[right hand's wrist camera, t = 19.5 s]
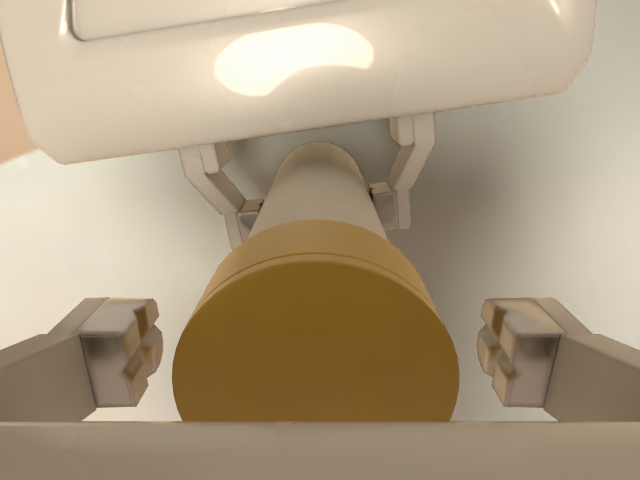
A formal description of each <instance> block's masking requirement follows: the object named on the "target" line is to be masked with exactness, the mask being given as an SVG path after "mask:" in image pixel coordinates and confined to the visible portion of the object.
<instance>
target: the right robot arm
mask: <svg viewBox="0 0 640 480" xmlns="http://www.w3.org/2000/svg"><path fill="white" fill-rule="evenodd" d="M158 317H159V313H158V307H157V303H156V302H155V301H154V299H145V298H109V297H105V298H85V299H84V300H83V301H82V302H81V303H80V304H79V305H78V306H77V307H76V308H74V309H73V310H72V311H71V312H70V313H69V314H68V315H67V316H66V317H65V318H64V319H63V320H62V321H61V322H59V323H58V324H57V325H56V326H55V327H54V328H53V329H52V330H51V331H50V332H49V333H48V334H39V335H37V336H34V337H32V338H29V339H27V340H24V341H22V342H20V343H17V344H15V345H12V346H10V347H7V348H5V349H2V350H0V480H640V350H638V349H635V348H633V347H630V346H628V345H625V344H623V343H620V342H618V341H615V340H613V339H611V338H608V337H606V336H603V335H601V334H592V333H591V332H590V331H589V330H588V329H587V328H586V327H585V326H584V325H583V324H582V323H581V322H580V321H578V320H577V319H576V318H575V317H574V316H573V315H572V314H571V313H570V312H569V311H568V310H567V309H566V308H565V307H564V306H562V305H561V304H560V303H559V302H558V301H557V300H556V299H554V298H551V297H546V298H501V299H486V300H485V302H484V304H483V306H482V312H481V317H482V318H483V320H484V321H485V323H486V325H485V326H484V327H483V328H482V329H481V330H480V331H479V332H478V339H477V352H478V358H479V362H480V365H481V367H482V369H483V370H484V372H485V373H487V374H488V375H490V376H491V377H493V381H492V387H493V389H494V390H495V392H496V394H497V396H498V397H499V399H500V401H501V403H502V405H503V406H504V407H538V408H544V410H545V411H546V412H548V413H549V414H550V415H552V416H553V417H554V418H556V419H557V420H558V421H560V422H235V421H82V420H83V419H85V418H86V417H87V416H89V415H90V414H91V413H93V412H94V411H95V410H96V408H102V407H136V406H137V405H138V403H139V401H140V399H141V397H142V396H143V394H144V392H145V390H146V389H147V387H148V381H147V377H149V376H150V375H152V374H153V373H155V372H156V370H157V369H158V367H159V365H160V362H161V357H162V353H163V338H162V332H161V331H160V330H159V329H158V328H157V327H156V326H155V325H154V323H155V321H156V320H157V318H158Z"/></svg>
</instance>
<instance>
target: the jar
mask: <svg viewBox="0 0 640 480" xmlns="http://www.w3.org/2000/svg"><path fill="white" fill-rule="evenodd" d="M310 219H321V220H333V221H340V222H346V223H349V224H352V225H356V226H359V227H362V228H364V229H367V230H369V231H371V232H373V233H376V234H377V235H379V236H381V237H382V238H384V239H386V240H387V241H388V239H387V236H386V234H385V231H384V229H383V226H382V224H381V222H380V219H379V217H378V214H377V212H376V209H375V207H374V205H373V202H372V200H371V197H370V195H369V192H368V190H367V188H366V185H365V183H364V180H363V178H362V175H361V173H360V171H359V168H358V166H357V164H356V162H355V161H354V159H353V158H352V157H351V156H350V154H349V153H347V152H346V151H345V150H344V149H342V148H341V147H339V146H337V145H334V144H331V143H327V142H310V143H306V144H303V145H301V146H299V147H297V148H295V149H294V150H293V151H291V152H290V153H289V154H288V155H287V156H286V157H285V159H284V160H283V162H282V163H281V165H280V167H279V170H278V172H277V174H276V176H275V179H274V181H273V183H272V185H271V188H270V190H269V192H268V194H267V196H266V199H265V201H264V203H263V205H262V208H261V210H260V212H259V214H258V217H257V219H256V221H255V223H254V225H253V228H252V230H251V232H250V234H249V237H248V239H249V238H250V237H252V236H254V235H256V234H258V233H259V232H261V231H263V230H265V229H268V228H271V227H274V226H277V225H279V224H283V223H288V222H293V221H298V220H310Z"/></svg>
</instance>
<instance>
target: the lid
mask: <svg viewBox="0 0 640 480" xmlns="http://www.w3.org/2000/svg"><path fill="white" fill-rule="evenodd" d="M172 384H173V393H174V398H175V402H176V405H177V409H178V412H179V414H180V416H181V419H182V421H235V422H449V420H450V418H451V416H452V413H453V410H454V407H455V405H456V400H457V395H458V389H459V367H458V360H457V355H456V352H455V348H454V345H453V342H452V340H451V338H450V336H449V334H448V332H447V330H446V328H445V326H444V323H443V321H442V319H441V317H440V315H439V313H438V311H437V309H436V307H435V305H434V303H433V301H432V299H431V297H430V295H429V293H428V291H427V289H426V287H425V285H424V283H423V281H422V279H421V277H420V275H419V273H418V272H417V270H416V269H415V267H414V266H413V265H412V263H411V262H410V261H409V260H408V259H407V257H406V256H405V255H404V254H403V253H402V252H401V251H400V250H399V249H397V248H396V247H395V246H394V245H392V244H391V243H390V242H389V241H387V240H386V239H384V238H382V237H381V236H379V235H377V234H376V233H373V232H371V231H369V230H367V229H364V228H362V227H359V226H356V225H352V224H349V223H346V222H340V221H333V220H321V219H310V220H298V221H293V222H288V223H283V224H279V225H277V226H274V227H271V228H268V229H265V230H263V231H261V232H259V233H258V234H256V235H254V236H252V237H250V238H249V239H247V240H246V241H244V242H243V243H241V244H240V245H239V246H237V247H236V248H235V249H234V250H233V251H232V252H231V253H230V254H229V255H228V256H227V257H226V258H225V259H224V261H223V262H222V263H221V264H220V266H219V267H218V269H217V270H216V272H215V274H214V275H213V277H212V279H211V280H210V282H209V284H208V286H207V288H206V290H205V292H204V293H203V295H202V297H201V299H200V301H199V303H198V305H197V307H196V308H195V310H194V312H193V314H192V316H191V318H190V320H189V321H188V323H187V325H186V327H185V329H184V331H183V333H182V335H181V337H180V340H179V342H178V345H177V347H176V352H175V356H174V361H173V370H172Z"/></svg>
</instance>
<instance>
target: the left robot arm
mask: <svg viewBox="0 0 640 480" xmlns="http://www.w3.org/2000/svg"><path fill="white" fill-rule="evenodd" d="M595 10H596V0H0V37H1V42H2V46H3V51H4V55H5V59H6V63H7V67H8V71H9V75H10V79H11V83H12V87H13V90H14V94H15V97H16V101H17V104H18V108H19V111H20V114H21V117H22V121H23V123H24V126H25V129H26V131H27V134H28V136H29V138H30V139H31V141H32V142H33V143H34V144H35V145H36V146H37V147H39V148H40V149H41V150H42V151H43V152H45V153H46V154H47V155H48V156H49V157H51V158H52V159H53V160H55V161H56V162H57V163H60V164H63V165H68V164H75V163H82V162H89V161H96V160H103V159H110V158H117V157H124V156H131V155H138V154H145V153H152V152H159V151H165V150H172V149H178V150H179V154H180V157H181V161H182V165H183V169H184V173H185V177H186V179H187V180H188V181H189V182H190V183H191V184H192V185H193V186H194V187H195V188H196V189H197V190H198V191H199V192H200V193H201V194H202V195H203V197H204V198H205V199H206V200H207V201H208V202H209V203H210V204H211V205H212V206H213V207H214V208H215V209H216V210H217V211H218V212H219V213H220V214H224V218H225V223H226V227H227V231H228V235H229V240H230V244H231V247H232V249H233V250H234V249H235V248H236V247H237V246H239V245H240V244H241V243H243V242H244V241H246V240H247V239H248V237H249V234H250V232H251V230H252V228H253V225H254V223H255V221H256V219H257V217H258V214H259V212H260V210H261V208H262V205H263V203H264V198H263V199H254V200H246V199H245V198H244V197H243V195H242V194H241V193H240V192H239V191H238V189H237V188H236V187H235V186H234V185H233V183H232V182H231V181H230V180H229V178H228V177H227V176H226V175H225V174H224V172H223V171H222V170H221V169H222V168H223V167H224V166H225V165H226V164H227V163H228V162H229V161H230V157H229V152H228V147H227V142H228V141H235V140H242V139H249V138H255V137H262V136H269V135H276V134H283V133H290V132H297V131H304V130H311V129H318V128H325V127H332V126H339V125H345V124H352V123H359V122H366V121H373V120H380V119H387V118H389V126H390V136H391V138H392V139H394V140H395V141H396V142H397V143H398V144H399V145H401V148H400V150H399V152H398V155H397V157H396V159H395V161H394V164H393V166H392V168H391V170H390V173H389V175H388V177H387V179H386V181H385V182H378V183H372V184H368V189H369V195H370V197H371V200H372V202H373V205H374V207H375V209H376V212H377V214H378V217H379V219H380V222H381V224H382V226H383V229H384V231H392V230H400V229H407V228H410V227H411V215H410V200H409V189H411V188H412V187H413V185H414V183H415V181H416V180H417V178H418V176H419V174H420V172H421V170H422V168H423V166H424V164H425V162H426V160H427V158H428V156H429V154H430V152H431V150H432V149H433V147H434V145H435V120H434V112H435V111H442V110H449V109H456V108H463V107H470V106H477V105H484V104H491V103H498V102H505V101H512V100H519V99H525V98H532V97H539V96H546V95H553V94H559V93H561V92H564V91H565V90H566V89H567V88H568V87H569V86H570V84H571V83H572V82H573V81H574V79H575V78H576V76H577V75H578V74H579V72H580V71H581V69H582V68H583V66H584V65H585V64H586V62H587V61H588V58H589V56H590V53H591V48H592V44H593V35H594V26H595Z"/></svg>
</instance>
